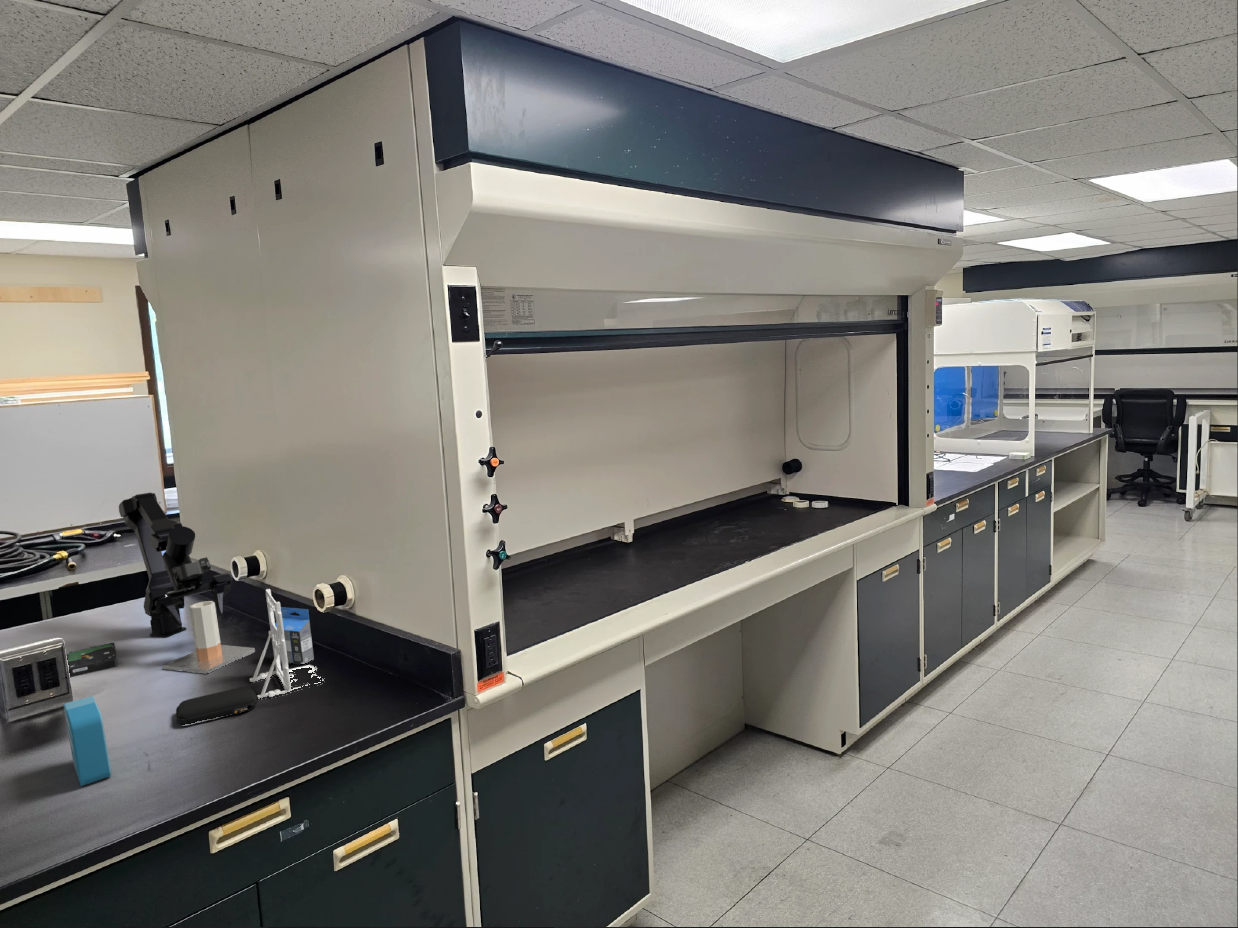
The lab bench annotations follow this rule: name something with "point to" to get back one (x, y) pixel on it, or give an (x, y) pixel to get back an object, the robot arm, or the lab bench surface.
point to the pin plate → (208, 666)
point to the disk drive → (92, 659)
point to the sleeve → (205, 630)
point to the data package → (87, 740)
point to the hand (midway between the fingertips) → (201, 620)
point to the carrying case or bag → (216, 705)
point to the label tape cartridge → (297, 635)
